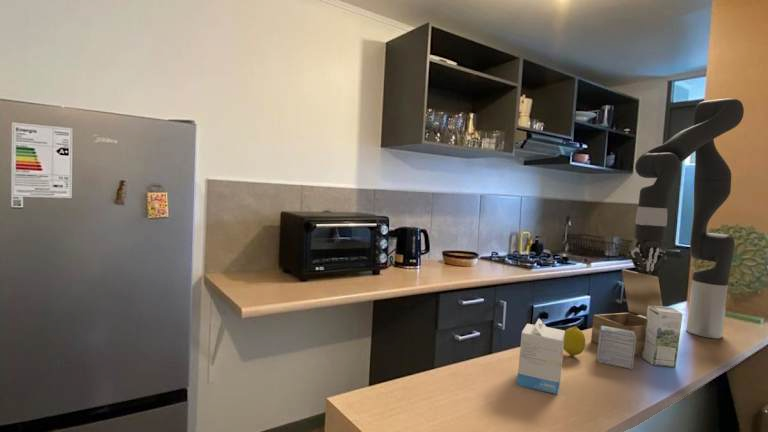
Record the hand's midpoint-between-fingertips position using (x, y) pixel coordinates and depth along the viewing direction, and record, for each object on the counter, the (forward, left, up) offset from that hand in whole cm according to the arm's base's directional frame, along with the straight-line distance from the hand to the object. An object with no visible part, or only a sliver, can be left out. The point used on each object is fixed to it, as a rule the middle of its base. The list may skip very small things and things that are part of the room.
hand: (644, 283), depth 120 cm
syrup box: (+6, +10, -19) cm, 22 cm away
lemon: (+27, +2, -19) cm, 33 cm away
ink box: (+47, +12, -19) cm, 52 cm away
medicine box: (+19, +8, -19) cm, 28 cm away
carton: (+5, 0, -18) cm, 19 cm away
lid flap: (0, 0, -4) cm, 4 cm away
